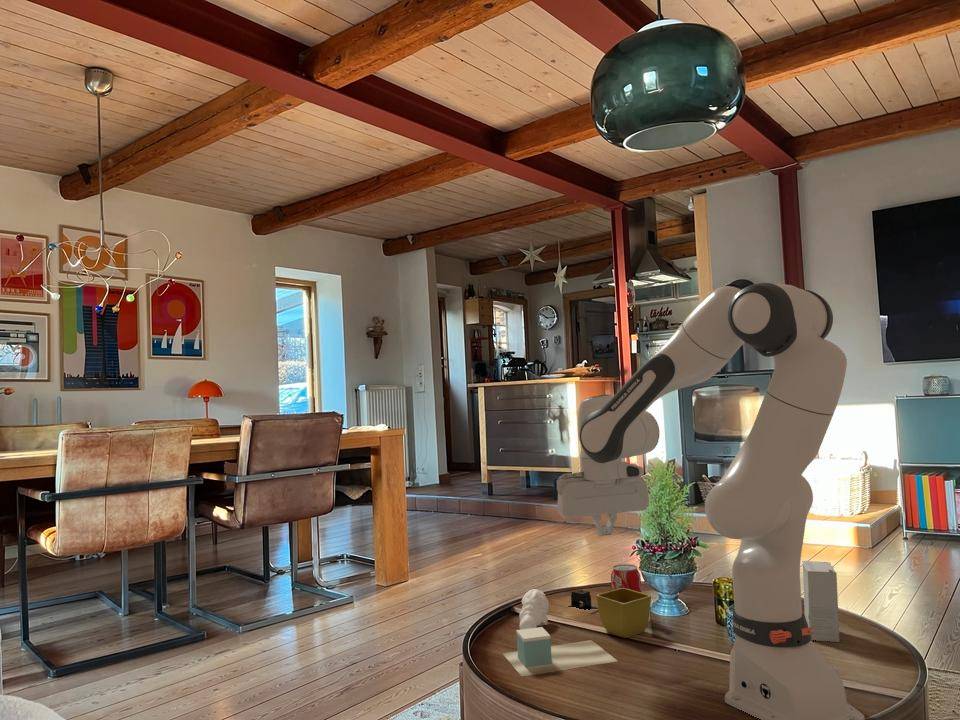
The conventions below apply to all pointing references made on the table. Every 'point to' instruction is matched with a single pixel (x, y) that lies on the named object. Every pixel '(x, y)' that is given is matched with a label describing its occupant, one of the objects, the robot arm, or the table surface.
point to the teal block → (534, 647)
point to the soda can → (626, 577)
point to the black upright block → (581, 600)
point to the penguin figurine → (533, 609)
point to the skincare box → (821, 600)
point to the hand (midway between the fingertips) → (605, 534)
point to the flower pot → (624, 611)
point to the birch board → (565, 658)
